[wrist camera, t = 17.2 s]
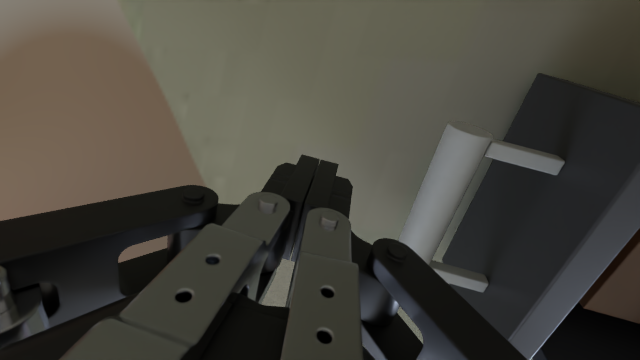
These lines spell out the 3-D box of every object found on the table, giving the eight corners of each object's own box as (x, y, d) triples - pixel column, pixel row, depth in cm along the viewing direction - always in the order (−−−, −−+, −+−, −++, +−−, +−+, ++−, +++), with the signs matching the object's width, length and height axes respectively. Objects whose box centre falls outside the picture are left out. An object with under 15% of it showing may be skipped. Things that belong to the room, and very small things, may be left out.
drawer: (373, 240, 20) (374, 354, 14) (446, 48, 15) (506, 73, 8) (658, 319, 20) (811, 478, 13) (833, 148, 15) (1243, 262, 8)
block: (678, 195, 16) (584, 170, 16) (784, 255, 12) (657, 222, 12) (618, 266, 18) (535, 243, 18) (690, 338, 14) (583, 309, 14)
